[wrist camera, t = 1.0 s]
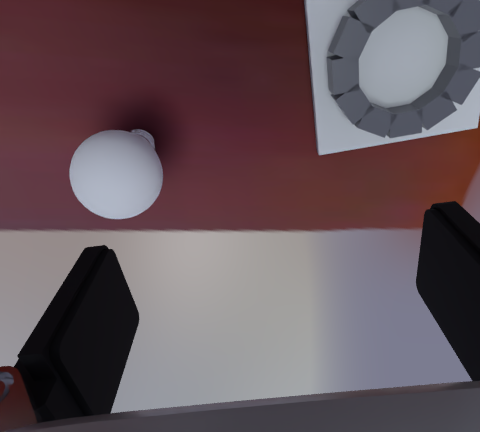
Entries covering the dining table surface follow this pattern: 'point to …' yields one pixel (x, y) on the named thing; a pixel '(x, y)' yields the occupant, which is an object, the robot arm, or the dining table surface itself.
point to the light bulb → (117, 173)
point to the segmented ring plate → (392, 70)
